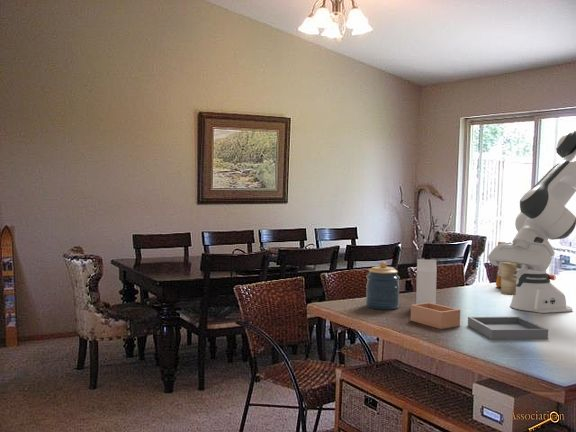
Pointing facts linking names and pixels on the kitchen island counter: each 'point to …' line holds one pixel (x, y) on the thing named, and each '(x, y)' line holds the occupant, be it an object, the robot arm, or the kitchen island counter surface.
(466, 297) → the kitchen island counter surface
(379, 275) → the canister
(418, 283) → the milk carton
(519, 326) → the charcoal tray
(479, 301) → the kitchen island counter surface
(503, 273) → the birch peg
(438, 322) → the terracotta planter box
